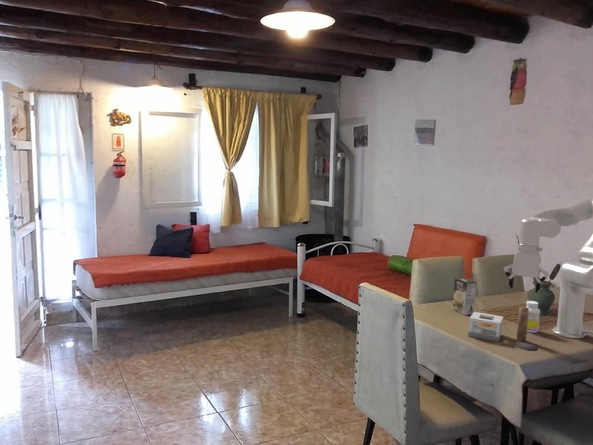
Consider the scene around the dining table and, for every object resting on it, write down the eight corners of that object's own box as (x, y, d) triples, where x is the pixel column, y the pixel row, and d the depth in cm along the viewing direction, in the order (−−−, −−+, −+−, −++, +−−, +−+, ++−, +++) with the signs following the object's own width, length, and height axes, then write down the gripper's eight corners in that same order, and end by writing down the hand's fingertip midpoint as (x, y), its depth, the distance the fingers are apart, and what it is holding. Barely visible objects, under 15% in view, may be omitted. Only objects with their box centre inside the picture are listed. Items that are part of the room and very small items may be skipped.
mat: (537, 346, 210) (537, 345, 210) (536, 351, 204) (536, 350, 204) (519, 342, 213) (519, 341, 213) (517, 348, 207) (517, 347, 207)
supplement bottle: (524, 327, 234) (526, 299, 232) (540, 330, 229) (542, 302, 228) (519, 330, 228) (522, 302, 227) (535, 334, 224) (538, 305, 223)
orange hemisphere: (491, 324, 221) (491, 320, 221) (490, 327, 218) (490, 322, 217) (481, 323, 223) (482, 318, 223) (480, 325, 219) (480, 321, 219)
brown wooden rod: (526, 340, 217) (529, 307, 215) (525, 342, 214) (528, 309, 212) (517, 338, 218) (519, 306, 217) (516, 340, 215) (518, 308, 213)
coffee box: (451, 309, 257) (453, 278, 255) (462, 308, 259) (464, 277, 257) (463, 315, 249) (466, 282, 247) (474, 314, 251) (477, 281, 249)
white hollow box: (501, 334, 222) (503, 316, 221) (498, 341, 214) (499, 322, 213) (472, 329, 228) (473, 311, 227) (468, 336, 219) (469, 317, 218)
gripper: (552, 250, 211) (548, 291, 213) (507, 245, 220) (503, 284, 222) (550, 253, 204) (546, 295, 206) (504, 247, 213) (500, 288, 215)
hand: (523, 289), depth 214 cm, fingers open, 9 cm apart
